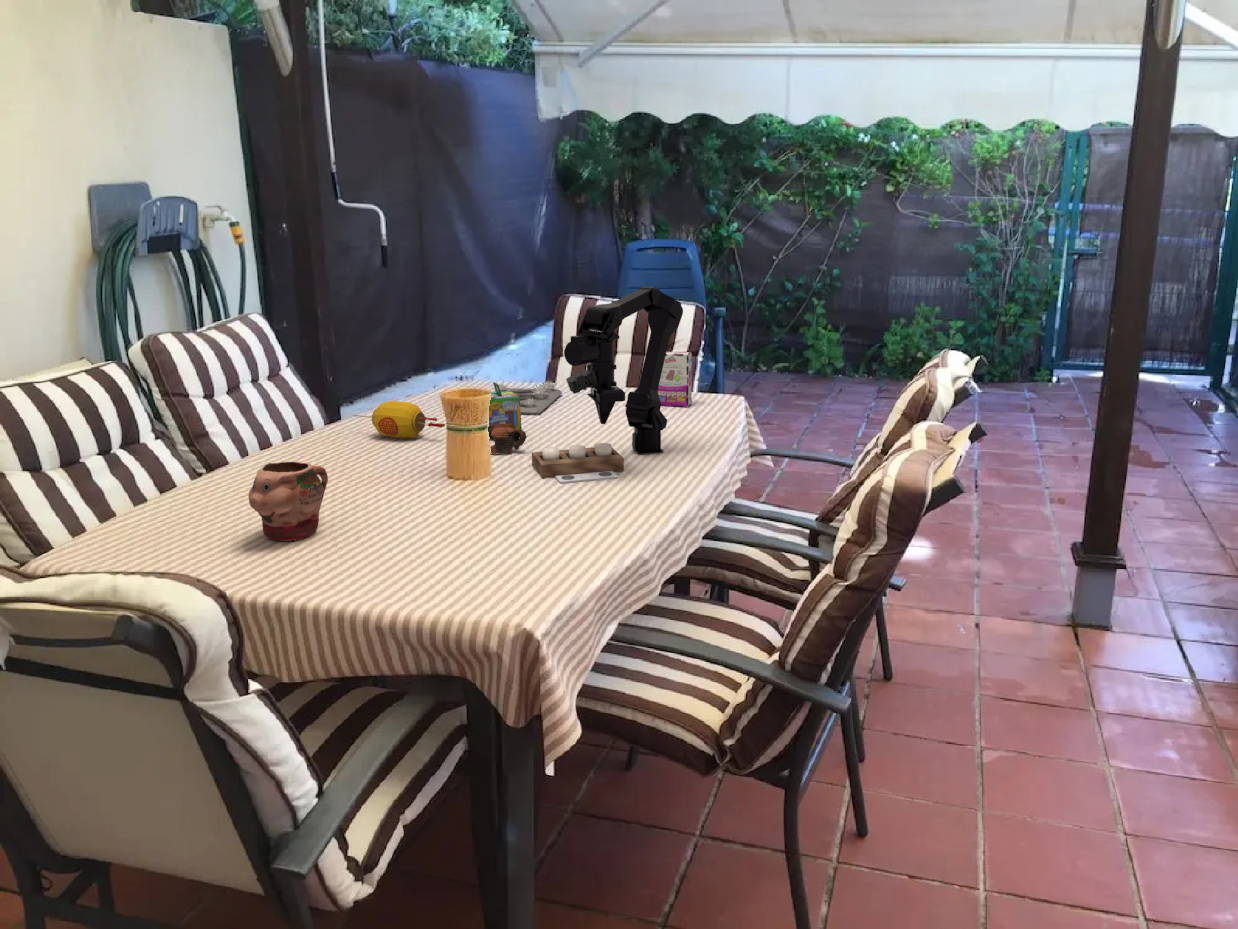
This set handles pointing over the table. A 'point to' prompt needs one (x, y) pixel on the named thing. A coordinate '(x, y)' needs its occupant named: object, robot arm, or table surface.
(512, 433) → the pottery mug
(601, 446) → the button
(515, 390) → the decorative plate
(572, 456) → the button middle
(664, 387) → the candy bar box
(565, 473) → the button board
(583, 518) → the table surface
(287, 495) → the pink animal face cup
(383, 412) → the lantern
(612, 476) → the card
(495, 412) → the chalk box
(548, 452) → the button
